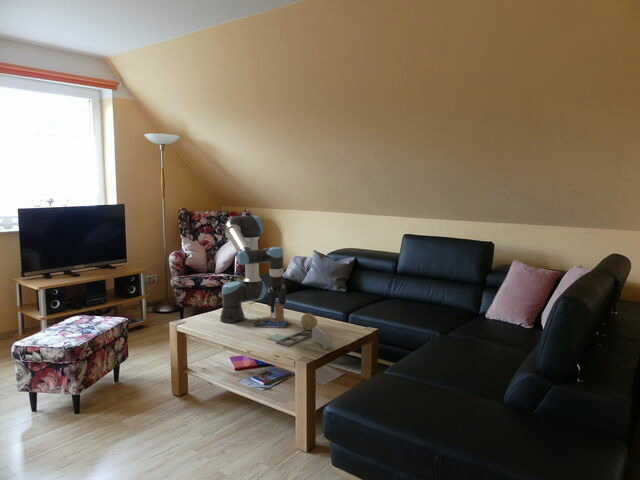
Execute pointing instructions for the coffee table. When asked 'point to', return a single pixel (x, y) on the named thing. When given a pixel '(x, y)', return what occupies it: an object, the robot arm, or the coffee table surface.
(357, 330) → the coffee table surface
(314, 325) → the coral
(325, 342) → the game controller
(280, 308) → the walnut block
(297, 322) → the coffee table surface
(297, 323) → the coffee table surface
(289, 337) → the grey slotted board
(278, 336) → the felt pad
